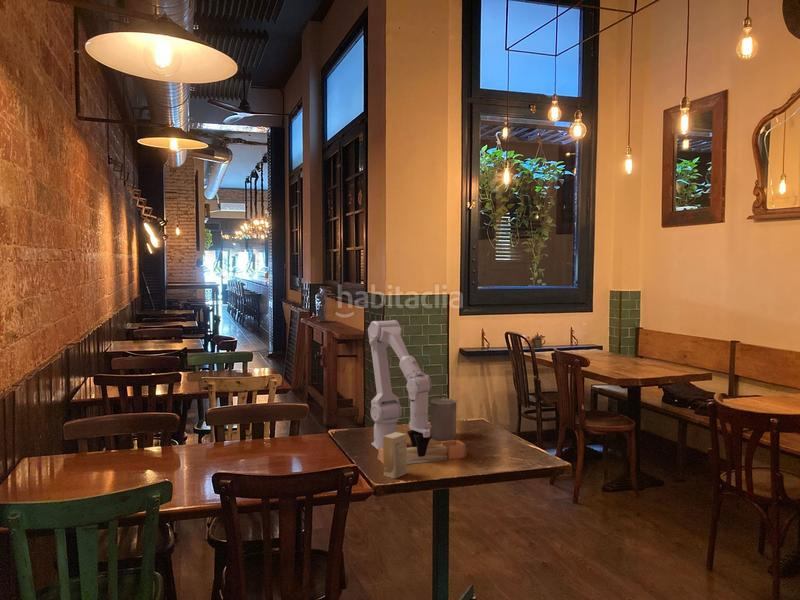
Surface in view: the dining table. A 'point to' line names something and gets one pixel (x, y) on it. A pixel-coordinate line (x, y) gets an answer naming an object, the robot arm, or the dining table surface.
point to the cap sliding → (380, 454)
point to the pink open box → (455, 449)
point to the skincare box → (395, 455)
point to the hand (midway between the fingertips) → (419, 454)
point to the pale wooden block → (427, 452)
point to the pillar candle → (443, 419)
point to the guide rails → (425, 460)
